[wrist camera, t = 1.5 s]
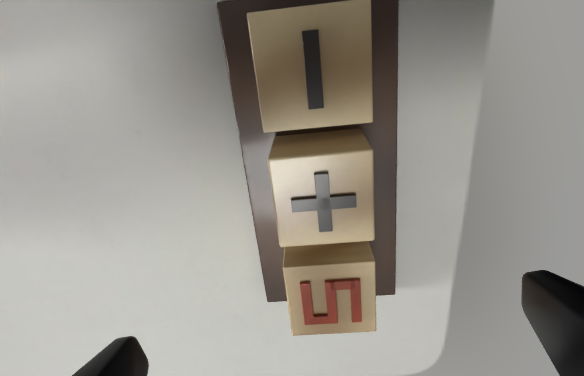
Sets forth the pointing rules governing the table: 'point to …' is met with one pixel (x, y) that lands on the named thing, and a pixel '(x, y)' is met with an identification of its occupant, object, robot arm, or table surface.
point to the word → (316, 125)
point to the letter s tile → (330, 288)
